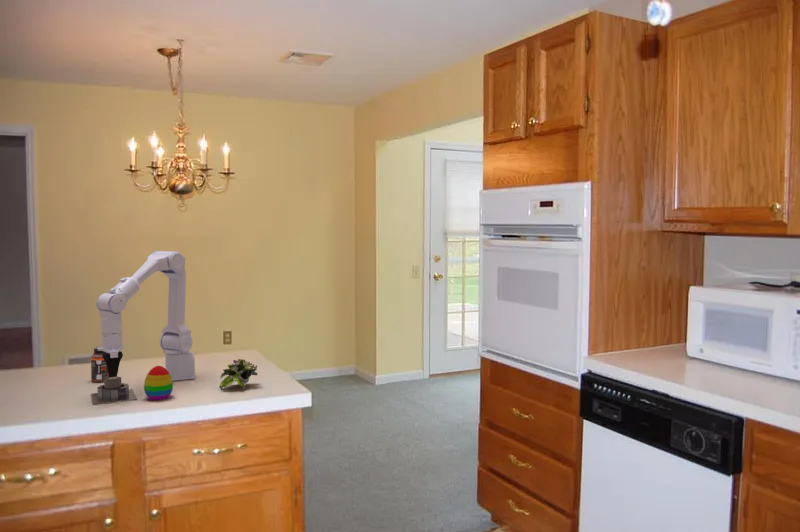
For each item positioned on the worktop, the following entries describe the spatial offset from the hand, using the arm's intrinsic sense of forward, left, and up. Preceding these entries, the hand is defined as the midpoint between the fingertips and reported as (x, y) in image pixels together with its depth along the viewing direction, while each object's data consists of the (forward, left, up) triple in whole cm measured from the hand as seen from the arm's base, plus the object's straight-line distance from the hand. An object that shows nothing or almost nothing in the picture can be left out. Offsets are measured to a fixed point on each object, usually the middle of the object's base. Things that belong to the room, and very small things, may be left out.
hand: (112, 376), depth 192 cm
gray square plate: (0, 0, -6) cm, 6 cm away
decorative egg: (-12, +7, -7) cm, 16 cm away
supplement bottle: (+2, -23, -7) cm, 24 cm away
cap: (0, 0, -6) cm, 6 cm away
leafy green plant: (-37, +7, -7) cm, 38 cm away
